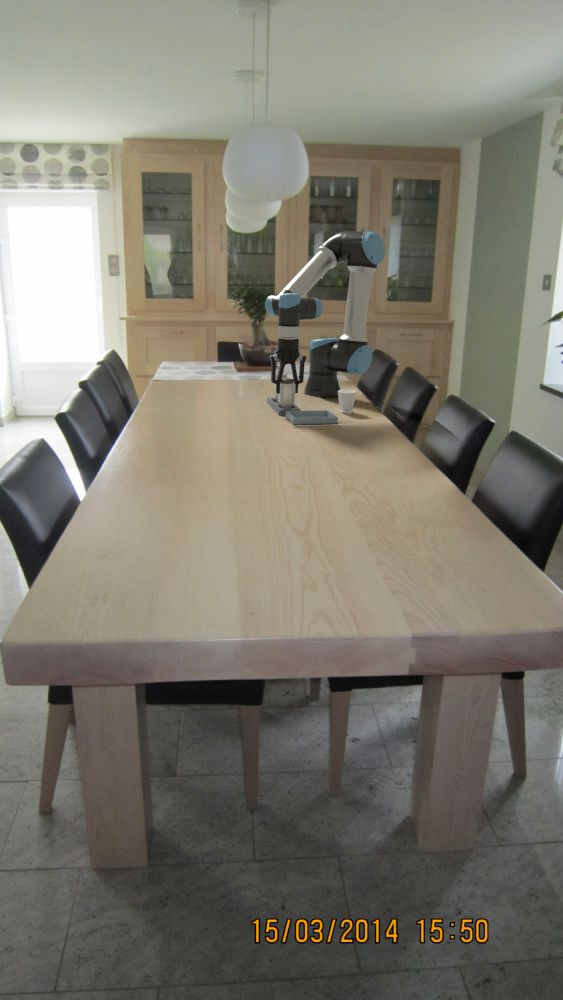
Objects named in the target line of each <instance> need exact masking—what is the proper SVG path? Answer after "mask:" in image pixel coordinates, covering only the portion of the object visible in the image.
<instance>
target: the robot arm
mask: <svg viewBox="0 0 563 1000" xmlns="http://www.w3.org/2000/svg"><path fill="white" fill-rule="evenodd" d="M385 255H386V246H385V241H384V240H383V237H382V236H381V235H380V234H379V233H378V232H375V231H369V230H368V231H366V230H365V231H363V230H362V231H358V230H357V231H356V230H355V231H353V230H352V231H350V230H348V231H347V230H344V231H340V232H339V233H338V232H337V233H336V234H334V235H332V236H331V237H329V238H328V239H327V240H325V241H324V242H323V243H322V244H321V245H320V246H319V247H318V248H317V249H316V252H315V255H314V256H313V257H312V258H311V259H310V260H309V261H308V262H307V263H306V264H305V265H304V266H303V268H302V269H301V270H300V271H299V272H298V273H297V274H296V275H295V276H294V277H293V278H292V279H291V281H290V282H288V283H287V284H286V285H285V287H284V288H282V290H281V291H280V292H279V293H278V294H273V295H272V294H271V295H268V296H267V298H266V300H265V303H264V308H265V311H266V313H267V314H268V315H270V316H272V317H273V316H274V317H278V326H277V328H278V329H277V330H278V331H277V333H278V334H277V336H278V339H277V351H276V353H275V354H272V355H269V360H270V382H271V383H272V384H274V385H275V384H276V393H277V394H279V396H278V402H279V403H282V385H281V379H282V375H283V373H284V371H285V370H284V369H285V367H286V365H289V366H290V369H291V374H292V379H294V381H293V403H294V404H295V403H296V394H298V393H299V384H303V383H304V376H305V375H304V374H305V362H306V360H307V356H306V355H304V354H301V353H300V351H299V348H300V347H299V346H300V340H299V338H300V321H301V320H302V321H303V320H305V321H306V320H314V319H318V318H320V317H321V315H322V314H323V311H324V310H323V308H324V306H323V303H322V301H321V300H320V299H319V298H317V297H305V296H306V295H307V294H308V292H309V291H310V290H311V289H312V288H313V287H314V286H316V284H317V283H318V282H319V281H320V279H322V278H323V277H324V275H325V274H326V273H327V272H328V271H329V270H332V269H334V268H335V267H336V266H337V265H340V264H341V263H346V268H347V270H349V278H348V287H347V297H346V306H345V314H344V322H343V323H344V325H343V332H342V335H341V336H340V337H325V338H317V339H316V338H315V339H313V340H311V342H310V349H309V374H308V377H307V381H306V382H305V386H304V391H303V394H304V395H305V396H306V395H307V396H310V397H319V398H325V399H326V398H336V397H337V398H338V391H339V390H341V386H340V382H339V378H338V373H343V374H349V375H362V374H364V373H365V372H367V370H368V369H369V367H370V366H371V363H372V360H373V352H372V349H371V347H370V346H369V345H368V343H369V342H368V341H369V340H368V339H367V338H366V336H365V335H366V328H367V319H368V311H369V302H370V294H371V286H372V276H373V274H374V272H376V271H377V270H378V268H377V267H378V265H380V264H381V263H382V262H383V260H384V258H385V257H386V256H385ZM277 358H278V360H279V366H278V367H279V368H278V371H277V369H276V366H277V364H276V361H277ZM297 360H299V368H298V369H299V370H298V371H297V367H296V361H297ZM276 371H277V372H276ZM277 373H278V375H277V380H276V374H277Z"/></svg>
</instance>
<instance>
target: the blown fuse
mask: <svg viewBox="0 0 563 1000" xmlns="http://www.w3.org/2000/svg"><path fill="white" fill-rule="evenodd" d="M293 384H294V379H293V378H288V377H287V378H283V379H281V385H282V403H281V408H292V404H293Z"/></svg>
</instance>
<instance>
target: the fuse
mask: <svg viewBox="0 0 563 1000" xmlns="http://www.w3.org/2000/svg"><path fill="white" fill-rule="evenodd" d="M277 375H278V372H276V380H277ZM283 378H288V374H287V373H284V372H283V375H282V379H283ZM278 396H279V394H277V393H276V384H274V398H275V400H274V402H278Z"/></svg>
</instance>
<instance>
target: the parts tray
mask: <svg viewBox="0 0 563 1000" xmlns="http://www.w3.org/2000/svg"><path fill="white" fill-rule="evenodd" d="M285 418H287V420H289V421H290V423H291V425H295V426H322V425H323V426H324V425H325V426H327V425H328V426H329V425H333V424H335V425H338V420H339V418H338V416H337V415H336V414H334V413H333V412H332V411H330V410H329V409H319V410H318V409H316V410H315V409H313V410H301V411H286V415H285Z"/></svg>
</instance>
